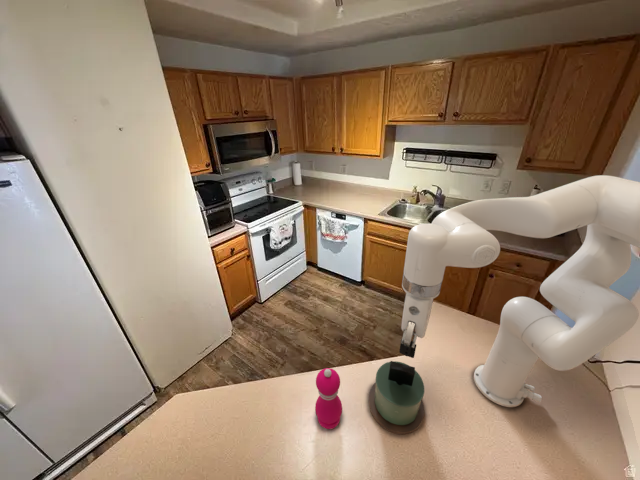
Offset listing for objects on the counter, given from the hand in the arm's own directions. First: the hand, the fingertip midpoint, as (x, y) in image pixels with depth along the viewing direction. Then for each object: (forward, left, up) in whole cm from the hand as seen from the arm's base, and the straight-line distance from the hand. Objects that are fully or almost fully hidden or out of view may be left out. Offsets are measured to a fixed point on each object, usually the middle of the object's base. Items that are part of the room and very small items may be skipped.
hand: (411, 338), depth 62 cm
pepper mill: (+16, +14, -26) cm, 33 cm away
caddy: (+1, +2, -24) cm, 24 cm away
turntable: (+1, +2, -26) cm, 26 cm away
